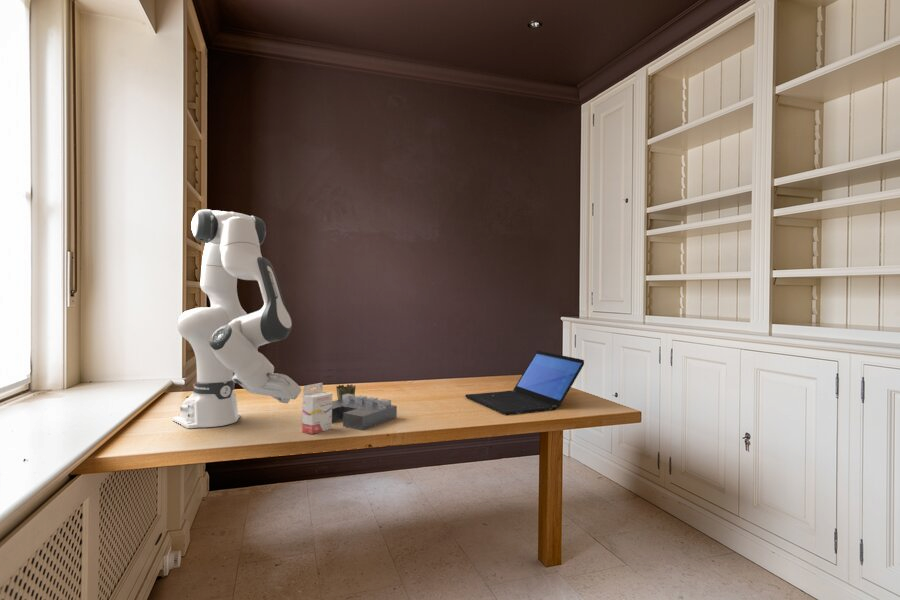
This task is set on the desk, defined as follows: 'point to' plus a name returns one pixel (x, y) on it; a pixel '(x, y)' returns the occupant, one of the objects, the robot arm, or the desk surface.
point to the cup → (345, 390)
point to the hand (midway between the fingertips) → (285, 401)
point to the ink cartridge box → (316, 409)
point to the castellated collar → (362, 411)
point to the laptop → (536, 386)
